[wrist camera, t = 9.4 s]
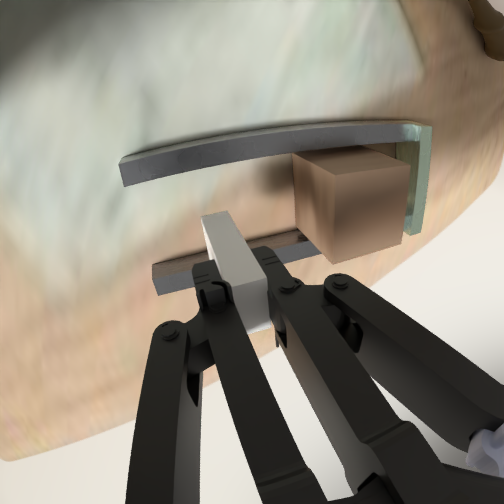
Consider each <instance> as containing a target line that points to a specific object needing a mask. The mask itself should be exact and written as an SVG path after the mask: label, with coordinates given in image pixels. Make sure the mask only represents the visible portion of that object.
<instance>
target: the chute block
mask: <svg viewBox="0 0 504 504" xmlns="http://www.w3.org/2000/svg"><path fill="white" fill-rule="evenodd" d="M292 160H293V177H294V196H295V218H296V227H297V228H298V229H299V230H300V231H301V232H302V233H303V234H304V235H305V236H306V237H307V238H308V239H309V240H310V241H311V242H312V243H313V244H314V245H315V246H316V247H317V248H318V250H319V251H320V252H321V253H322V254H323V255H324V256H325V257H326V258H327V259H328V260H329V261H330V262H331V263H332V264H336V263H340V262H343V261H347V260H350V259H353V258H357V257H360V256H363V255H367V254H370V253H373V252H376V251H380V250H383V249H386V248H389V247H393V246H396V245H399V244H401V241H402V235H403V228H404V221H405V214H406V206H407V197H408V188H409V177H410V165H409V164H407V163H404V162H402V161H400V160H397V159H395V158H392V157H390V156H387V155H385V154H382V153H379V152H377V151H374V150H372V149H369V148H366V147H363V146H361V145H355V146H344V147H335V148H326V149H318V150H310V151H302V152H295V153H292Z"/></svg>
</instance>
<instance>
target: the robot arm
mask: <svg viewBox="0 0 504 504" xmlns="http://www.w3.org/2000/svg"><path fill="white" fill-rule="evenodd" d="M201 221H202V226H203V231H204V236H205V240H206V245H207V250H208V255H209V259H210V260H208V261H204V262H200V263H196V264H194V266H193V268H192V271H191V272H192V276H193V281H194V285H195V289H196V296H197V299H198V303H199V306H200V308H199V312H198V313H197V315H196V316H195V317H194V318H193V319H191V320H190V321H188V322H186V323H182V322H180V321H174V320H171V321H167V322H164V323H162V324H160V325H159V326H158V327H157V328H156V329H155V331H154V333H153V336H152V341H151V345H150V350H149V354H148V359H147V364H146V369H145V374H144V379H143V384H142V389H141V394H140V400H139V406H138V411H137V417H136V423H135V430H134V436H133V443H132V450H131V457H130V465H129V473H128V481H127V490H126V501H125V504H200V438H201V407H202V385H203V371H204V370H206V369H207V368H209V367H211V366H212V365H214V364H216V367H217V371H218V374H219V377H220V381H221V384H222V387H223V390H224V394H225V396H226V400H227V403H228V406H229V409H230V412H231V415H232V418H233V422H234V425H235V427H236V430H237V433H238V436H239V439H240V442H241V445H242V448H243V451H244V454H245V456H246V459H247V462H248V465H249V467H250V470H251V473H252V476H253V478H254V481H255V484H256V487H257V490H258V493H259V495H260V498H261V500H262V503H263V504H504V385H502V384H500V383H499V382H498V381H496V380H495V379H494V378H492V377H491V376H489V375H488V374H487V373H486V372H485V371H483V370H482V369H480V368H479V367H478V366H477V365H475V364H474V363H473V362H471V361H470V360H469V359H467V358H466V357H465V356H463V355H462V354H461V353H459V352H458V351H456V350H455V349H454V348H452V347H451V346H450V345H448V344H447V343H445V342H444V341H443V340H441V339H440V338H439V337H437V336H436V335H434V334H433V333H431V332H430V331H429V330H428V329H426V328H425V327H423V326H422V325H420V324H419V323H418V322H416V321H415V320H413V319H412V318H411V317H409V316H408V315H406V314H405V313H404V312H402V311H401V310H399V309H398V308H396V307H395V306H393V305H392V304H391V303H389V302H388V301H386V300H385V299H383V298H382V297H380V296H379V295H378V294H376V293H375V292H373V291H372V290H370V289H369V288H367V287H366V286H364V285H363V284H361V283H360V282H359V281H357V280H356V279H354V278H353V277H351V276H349V275H347V274H341V273H338V274H332V275H329V276H328V277H327V278H326V279H325V281H324V285H305V284H304V283H303V282H302V281H301V280H300V279H297V278H295V277H292V276H291V275H290V273H289V272H288V270H287V269H286V268H285V266H284V265H283V263H282V262H281V261H280V259H279V258H278V257H277V255H276V254H275V252H274V251H273V250H272V249H271V248H269V247H267V246H261V247H257V248H253V249H250V248H249V247H248V245H247V243H246V241H245V240H244V238H243V236H242V235H241V233H240V231H239V230H238V228H237V226H236V225H235V223H234V221H233V220H232V218H231V216H230V215H229V213H228V211H223V212H219V213H214V214H210V215H206V216H201ZM271 321H272V323H273V325H274V327H275V340H276V347H279V343H280V345H281V347H282V349H283V351H284V353H285V355H286V357H287V359H288V361H289V363H290V365H291V367H292V369H293V371H294V373H295V374H296V377H297V379H298V381H299V383H300V385H301V387H302V388H303V390H304V392H305V394H306V396H307V398H308V400H309V402H310V404H311V406H312V408H313V410H314V412H315V414H316V415H317V417H318V419H319V421H320V423H321V425H322V427H323V429H324V431H325V433H326V434H327V436H328V438H329V440H330V442H331V444H332V446H333V448H334V450H335V452H336V453H337V455H338V457H339V459H340V461H341V463H342V465H343V467H344V470H345V477H346V479H347V482H348V484H349V486H350V488H351V490H352V492H353V494H354V496H351V497H347V498H343V499H338V500H333V501H327V499H326V497H325V495H324V493H323V491H322V489H321V487H320V485H319V483H318V481H317V479H316V477H315V475H314V473H313V472H312V471H311V469H310V468H308V467H307V465H306V464H305V462H304V460H303V458H302V456H301V453H300V451H299V449H298V447H297V445H296V443H295V441H294V439H293V436H292V434H291V432H290V430H289V428H288V426H287V423H286V421H285V419H284V417H283V414H282V412H281V410H280V408H279V406H278V403H277V401H276V399H275V397H274V395H273V392H272V390H271V388H270V385H269V383H268V381H267V379H266V376H265V374H264V372H263V369H262V367H261V365H260V362H259V360H258V358H257V355H256V353H255V351H254V348H253V346H252V344H251V341H250V339H249V336H248V334H251V333H254V332H258V331H261V330H264V329H268V328H271ZM370 376H371V377H372V378H373V379H374V380H376V381H377V382H378V383H379V384H380V385H381V386H382V387H384V388H385V389H386V390H387V391H388V392H389V393H390V394H392V395H393V396H394V397H395V398H396V399H397V400H398V401H399V402H401V403H402V404H403V405H404V406H405V407H406V408H408V409H409V410H410V411H411V412H412V413H413V414H414V415H416V416H417V417H418V418H419V419H420V420H421V421H423V422H424V423H425V424H426V425H427V426H428V427H429V428H431V429H432V430H433V431H434V432H435V433H437V434H438V435H439V436H440V437H441V438H443V439H444V440H445V441H446V442H448V443H449V444H451V445H452V446H454V447H456V448H458V449H460V450H462V451H464V452H467V453H468V455H467V456H466V464H467V465H468V466H469V467H476V468H478V469H479V470H480V471H481V473H478V472H474V471H470V470H466V469H462V468H458V467H455V466H451V465H447V464H444V463H441V462H440V460H439V459H438V457H437V456H436V454H435V453H434V452H433V450H432V448H431V447H430V445H429V444H428V442H427V441H426V439H425V438H424V437H423V435H422V434H421V432H420V431H419V429H418V428H417V427H416V426H415V425H414V424H413V423H411V422H410V421H403V420H401V419H400V418H399V417H398V416H397V415H396V413H395V412H394V410H393V409H392V407H391V406H390V404H389V403H388V402H387V400H386V399H385V397H384V396H383V394H382V393H381V391H380V390H379V389H378V387H377V386H376V384H375V383H374V381H373V380H372V378H371V377H370Z"/></svg>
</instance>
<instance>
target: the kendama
mask: <svg viewBox="0 0 504 504" xmlns="http://www.w3.org/2000/svg"><path fill="white" fill-rule="evenodd" d="M468 1H469V4H470V6H471V8H472V11H473V14H474V21H473V24H474V27H475V28H476V29H477V30H479V31H480V32H481V33H482V35H483V37H484V40H485V46H484V49H485V52H486V54H487V55H488V56H489V57H490V58H492V59H495V60H498V61H504V16H503V15H502V13H500V12H498V11H496V10H495V9H494V8H493V7H492V6H491V5H490V3H489V2H488V1H487V0H468Z"/></svg>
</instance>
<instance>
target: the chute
mask: <svg viewBox="0 0 504 504" xmlns="http://www.w3.org/2000/svg"><path fill="white" fill-rule="evenodd" d="M391 142H396V159H397V160H400V161H402V162H404V163H407V164H409V165H410V177H409V188H408V197H407V206H406V214H405V221H404V228H403V231H404V232H405V233H407V234H408V235H410V236H411V235H414V234H417V233H421V228H422V222H423V216H424V210H425V203H426V195H427V187H428V179H429V169H430V157H431V143H432V126H429V125H425V124H421V123H418V122H414V121H410V120H367V121H343V122H327V123H314V124H303V125H293V126H284V127H275V128H267V129H260V130H253V131H246V132H239V133H233V134H227V135H221V136H215V137H210V138H205V139H199V140H194V141H189V142H185V143H180V144H175V145H171V146H166V147H162V148H158V149H154V150H150V151H146V152H142V153H138V154H134V155H130V156H126V157H123V158H122V159H121V161H120V162H119V168H120V172H121V176H122V180H123V184H124V187H126V186H130V185H134V184H138V183H142V182H145V181H149V180H153V179H157V178H162V177H166V176H170V175H174V174H179V173H183V172H188V171H192V170H197V169H201V168H206V167H211V166H216V165H221V164H226V163H232V162H237V161H243V160H248V159H254V158H260V157H266V156H273V155H279V154H286V153H293V152H300V151H308V150H316V149H324V148H333V147H342V146H352V145H364V144H376V143H391ZM246 243H247V245H248V247H249V248H250V249H253V248H257V247H261V246H267V247H269V248H271V249H272V250H273V251H274V252H275V254H276V255H277V257H278V258H279V259H280V261H281V262H282V263H283V264H285V263H289V262H293V261H296V260H300V259H304V258H307V257H311V256H315V255H319V254H322V253H321V252H320V251H319V250H318V248H317V247H316V246H315V245H314V244H313V243H312V242H311V241H310V240H309V239H308V238H307V237H306V236H305V235H304V234H303V233H302V232H301V231H300V230H299V229H298V230H294V231H290V232H286V233H281V234H277V235H273V236H269V237H265V238H260V239H256V240H252V241H248V242H246ZM208 260H210V259H209V255H208V251H206V252H202V253H198V254H194V255H190V256H186V257H182V258H178V259H174V260H170V261H166V262H162V263H158V264H154V265H152V280H153V283H154V286H155V288H156V291H157V294H158V296H159V295H163V294H167V293H171V292H175V291H179V290H183V289H188V288H192V287H195V285H194V281H193V276H192V272H191V271H192V268H193V266H194V264H196V263H200V262H204V261H208Z"/></svg>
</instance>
